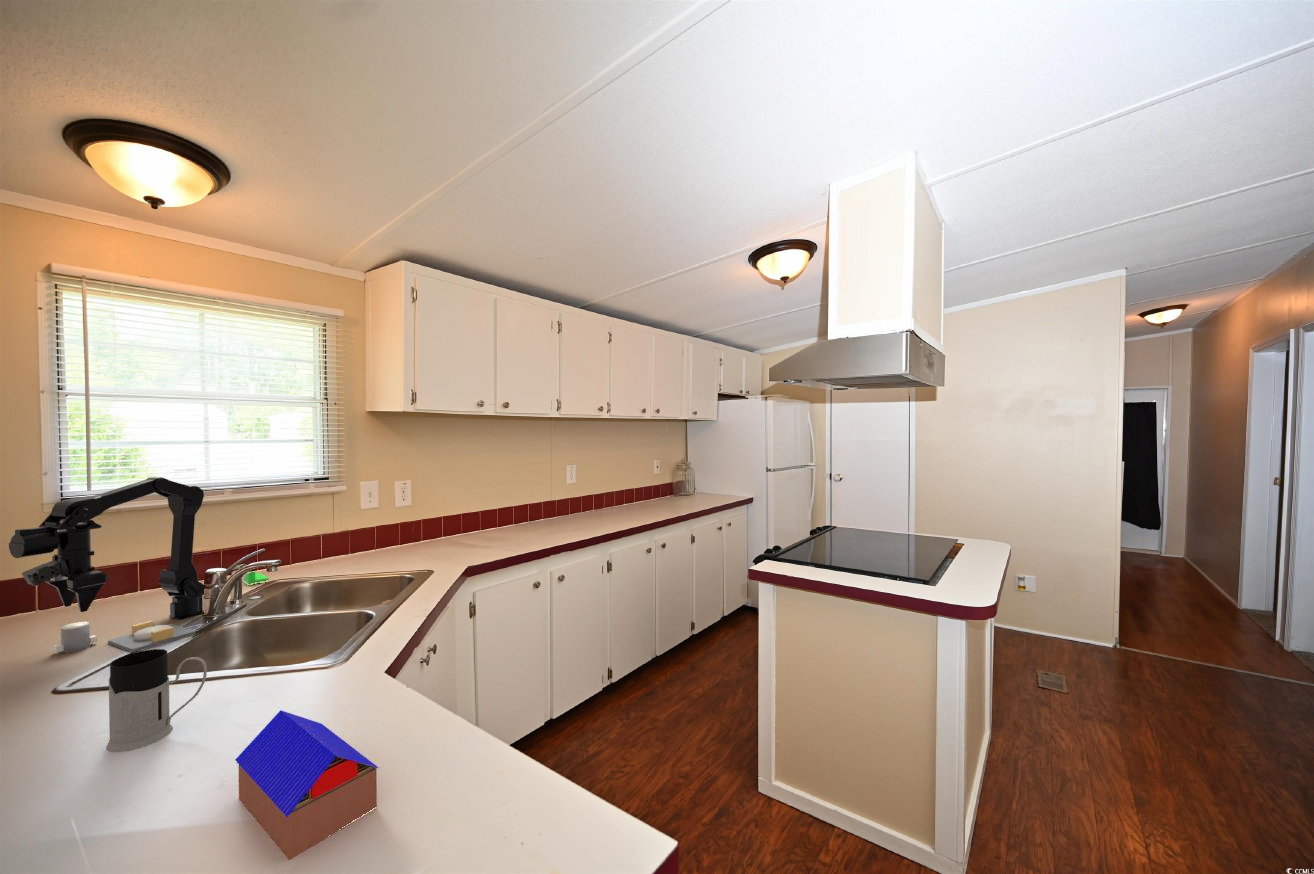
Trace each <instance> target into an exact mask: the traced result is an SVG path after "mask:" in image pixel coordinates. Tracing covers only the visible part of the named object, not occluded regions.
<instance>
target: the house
mask: <svg viewBox="0 0 1314 874" xmlns="http://www.w3.org/2000/svg"><path fill="white" fill-rule="evenodd" d="M235 761H236V764H237V765H238V800H239V801H240V802H241V803H242V804H243V806H244V807H245V808H246V809H247V811H248V812H249V813H250V814H251V815H252V816H253V818H254V819H255V820H256V822H257V823H258V824H259V825H260V826H261V828H262V829H263V830H264V831H265V833H267V835H268V836H269V837H270V839H271V840H272V841H273V843H275V845H276V846H277V847H278V848H279V850H280V851H281V852H282V853H283V854H284V855H285V857H286V858H287V859H288V860H292V859H293V858H296V857H297V856H299V855H301V854H302V853H304V852H305V851H308V850H309V849H311V848H312V847H314V846H315V845H318V844H319V843H321V842H322V840H323V841H324V840H326V839H328V838H329V837H330V836H329V835H331V836H333V835H335V834H336V833H338V832H339V831H338V830H339V829H341V830H343V829H342V827H344V826H346V825H347V824H349V823H351V822H352V821H353V820H355V819H357V818H359V817H361V816H362V815H363V814H366V813H367V812H369V811H370V810H372V809H373V808H375V807H377V808H378V805H377V802H378V800H377V797H378V795H377V790H378V789H377V786H378V785H377V784H378V783H377V775H378V774H377V771H378V770H377V769H380V767H378V765H376V764H375V763H374V762H373V761H371V760H370V759H368V758H367V757H365V756H364V755H363V754H362V753H360V752H359V751H358V750H357V749H356V748H354V747H352V746H351V745H350V744H349V743H347V741H345V740H344V739H343V738H341V737H339V735H337V734H336V733H335V732H333V731H332V730H331V729H330V728H328V727H327V726H325V725H324V724H323V723H321V722H318V721H314V720H312V719H309V718H306V717H302V716H300V715H296V714H294V713H290V712H288V711H284V710H281V709H279V712H277V713H276V714H275V716H274V717H273V718H272V719H271V720H270V721H269V722H268V723H267V725H265V727H264V728H263V729H262V730H261V731H260V732H259V733H258V734H257V736H255V738H253V740H252V741H250V743H249V744H248V745H247V746H246V747H245V748H244V749H243V751H242V752H241V753H240V754H239V755H238V756H237V757H236V758H235ZM326 768H327V769H326ZM337 831H338V832H337ZM335 832H336V833H335ZM334 833H335V834H334ZM332 834H333V835H332ZM328 836H329V837H328ZM325 838H326V839H325ZM320 841H321V842H320Z"/></svg>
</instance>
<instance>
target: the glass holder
mask: <svg viewBox="0 0 1314 874" xmlns="http://www.w3.org/2000/svg"><path fill="white" fill-rule="evenodd" d="M187 661H198V662H200V663H201V664H202V667H203V675H202V680H201V683H200V684H199V687H198V688H197V691H196V692H195V693H194V695H193V696H192V697H190V698H189V699H188V700H187V701H186V702H185V703H183V704H182V705H181V706H180V707H178V708H177V709H176V710H175V711H174V712H173V713H172V714H170V685H172V684H174V683H176V682H177V681H179V679H180V673H181V667H182V666H183V664H185V663H186V662H187ZM207 667H208V666H207V662H206V660H204V659H203V658H202V657H196V656H191V657H187V658H185V659H184V660H182V661H181V662H180V663H179V664H178V666H177V668H176V671H175V672H176V673H175V679H173V680H171V681H170V677H169V676H168V675H169V674H168V671H169V670H168V669H169V668H168V650H167V649H162V648H154V649H144V650H140V651H137V652H133V653H132V652H130V653H129V654H126V655H125V654H124V655H122V656H120V657H117V658H115V659H114V660H112V661H111V662H110V663H109V678H108V711H109V712H108V716H109V718H108V719H109V720H108V721H109V725H108V726H109V729H108V730H109V739H108V743H107V744H106V748H105V749H106V751H107V752H108V753H109V752H110V753H124V752H130V751H135V750H137V749H143V748H145V747H147V746H149V745H153V744H155V743H157V742H159V741H161V740H162V739H164V738H166V737H167V736H169V735H170V734H171V733H172V731H173V729H174V727H173V725H172V724H171V719H172V718H173V717H174V716H175V715H177V713H178V712H180V711H181V710H182V709H184V708H185V707H186V706H187V705H189V703H190V702H191V701H193V700H194V699H195V698H197V696H198V695H199V693H200V692H201V690H202V689H203V688H204V687H203V686H204V685H205V683H206V679H207V675H208V673H207V672H208V668H207Z"/></svg>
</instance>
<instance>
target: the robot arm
mask: <svg viewBox="0 0 1314 874" xmlns="http://www.w3.org/2000/svg"><path fill="white" fill-rule="evenodd" d="M154 493H155V494H157V495H158V496H161V497H164V498H166V500H167V506H168V507H169V510H170V511H171V513H172V516H173V519H172V534H171V535H172V536H171V549H170V562H169V565H168V566H167V567H166V568H165V569H160V571H159V581H158V585H160V587H161V590H163V591H165V592H167V595H168V596H169V597H171V602H170V603H169V618H172V619H175V620H178V621H179V620H180V621H181V620H186V619H190V618H193V617H196V616H200V615H204V614H203V613H204V611H205V610H204V608H203V607H204V605H203V604H204V603H203V602H204V601H203V597H204V596H203V595H205V594H204V589H205V586H206V585H205V583H204V584H203V583H202V582H200V581H199V577H198V570H197V569H196V567H195V565H194V563H193V553H194V552H193V550H194V539H195V538H194V535H195V523H196V522H195V521H196V515H197V513H198V511H199V510H200V508H201V507H202V505H203V501H204V497H205V493H204V489H202V488H201V487H199V486H197V485H186V484H184V483H179V482H176V481H172V480H170V479H167V478H166V477H161V476H160V477H159V476H151V477H148V478H146V479H144V480H140V481H137V482H135V483H130V484H127V485H124V486H121V487H119V488H115V489H112V490H109V491H105V492H102V493H99V494H95V495H89V496H81V497H79V496H78V497H73V498H69V499H63V500H60V501H57V502H56V503H54V506H53V507H52V509H51V513H50V514H48V516H46V518H45V519H44V520H42V522H41V523H40V524H39V525H38V526H37V527H31V528H17V529H15V530H14V535H13V536H12V537H11V538H10V542H8V549H9V550H8V551H9V553H10V555H11V556H12V557H13V558H14V559H21V558H27V557H33V556H38V555H39V556H41V555H45V554H51V553H53V552H55V550H56V552H57V553H54V554H53V555H51V556H52V557H51V558H52V559H51V560H50V561H48V562H45V563H42V564H40V565H37V566H34V567H33V568H32V567H31V568H30V569H27V570H25V571H23V572H21V575H22V577H23V579H24V580H25V582H26V583H27V585H30V586H32V587H33V586H34V587H36V586H39V585H42V584H43V583H44V582H45V583H46V584H49V585H50V586H52V587H54V588H55V589H56V591H57V592H58V593H57V594H58V596H59V597H60V600H61V602H62V604H63V607H65V608H68V607H70V606H72V604H73V602H74V600H75V598H76V601H77V605H78V609H79V612H80V613H84V612H87V611H88V610H89V608H90V607H91V605H92V603H93V602H94V600H95V598H96V596H97V595H98V594H99V591H100V590H101V589H102V588H103V586H105V584H107V582H108V581H109V579H108V577H109V576H108V574H107V573H105V572H104V571H102V570H101V571H100V570H97V569H96V567H95V566H93V565H92V556H95V551H94V550H92V547H91V546H92V544H91V543H92V542H91V540H92V539H91V530H97V529H101V528H102V527H103V526H102V525H101V524H100V523H98V522H96V521H95V520H93V519H95V518H97V517H99V516H100V515H102V514H103V513H105V511H107V510H109V509H111V508H113V507H116V506H119V505H122V504H125V503H128V502H131V501H134V500H137V499H141V498H142V497H146V496H149V495H152V494H154ZM95 569H96V570H95Z"/></svg>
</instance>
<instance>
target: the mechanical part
mask: <svg viewBox="0 0 1314 874" xmlns="http://www.w3.org/2000/svg"><path fill="white" fill-rule="evenodd" d="M266 580H269V577H267V576H266V575H264V574H262V573H260V572H259V573H258V572H256V571H255V572H251V573H249V574H247V575H246V576H245V578H244V581H246V582H247V583H248V584H251V583H255V582H260V581H266Z"/></svg>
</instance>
